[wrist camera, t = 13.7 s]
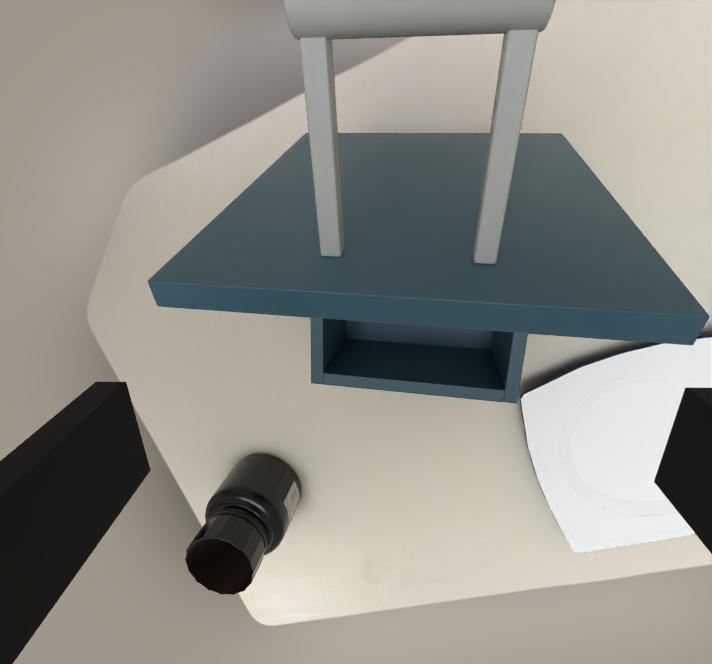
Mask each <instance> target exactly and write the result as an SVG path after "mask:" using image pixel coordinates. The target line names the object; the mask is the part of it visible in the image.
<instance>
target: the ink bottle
mask: <svg viewBox="0 0 712 664" xmlns="http://www.w3.org/2000/svg"><path fill="white" fill-rule="evenodd" d="M300 497H301V487H300V484H299V481H298V479H297V477H296V476H295V474H294V473H293V472H292V471H291V470H290V468H288V467H287V466H286V465H285V464H284V463H282V462H281V461H279V460H277V459H275V458H273V457H270V456H266V455H253V456H249V457H246V458H244V459H243V460H241V461H240V462H238V463H237V464H236V465H235V467H234V468H233V469H232V470H231V472H230V473H229V474H228V476H227V477H226V479H225V480H224V481H223V483H222V484H221V485H220V487H219V488H218V489H217V491H216V492H215V493H214V495H213V496H212V497H211V499H210V501H209V503H208V505H207V508H206V514H205V518H206V523H205V525H204V526H203V527H202V528H201V530H200V531H199V533H198V534H197V536H196V537H195V538H194V540H193V541H192V543H191V544H190V545H189V547H188V548H187V550H186V551H187V553H186V558H185V560H186V563H187V566H188V570H189V572H190V573H191V574H192V575H193V577H195V579H196V581H197V582H199V583H200V584H202V585H203V586H204V587H206V588H207V589H208V590H212V591H215V592H217V593H220V594H236V593H239V592H241V591H244V590H245V589H246V588H247V587H248V586H249V585H250V584H251V583H252V580H253V578H254V576H255V574H256V572H257V570H258V568H259V566H260V564H261V562H262V559H263V556H264V555H267V554H269V553H270V552H272V551H273V550H275V549H276V548H277V547H278V546H279V544H280V543H281V541H282V540H283V538H284V535H285V533H286V531H287V529H288V527H289V524H290V522H291V520H292V518H293V515H294V513H295V511H296V509H297V506H298V504H299V501H300Z"/></svg>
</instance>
